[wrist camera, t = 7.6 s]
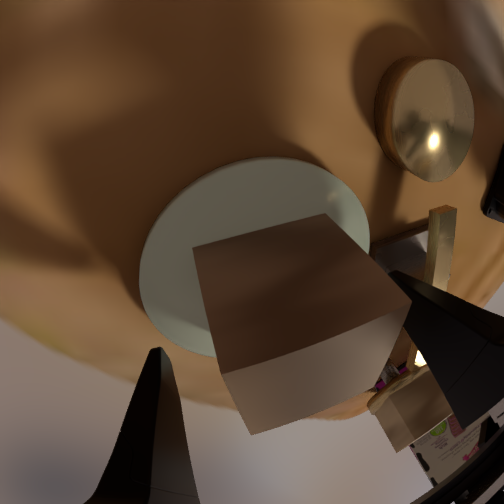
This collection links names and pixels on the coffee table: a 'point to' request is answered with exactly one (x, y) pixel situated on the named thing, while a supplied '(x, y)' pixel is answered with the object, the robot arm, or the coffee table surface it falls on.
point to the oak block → (413, 411)
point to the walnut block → (297, 318)
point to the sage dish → (231, 232)
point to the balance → (421, 176)
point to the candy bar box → (444, 444)
